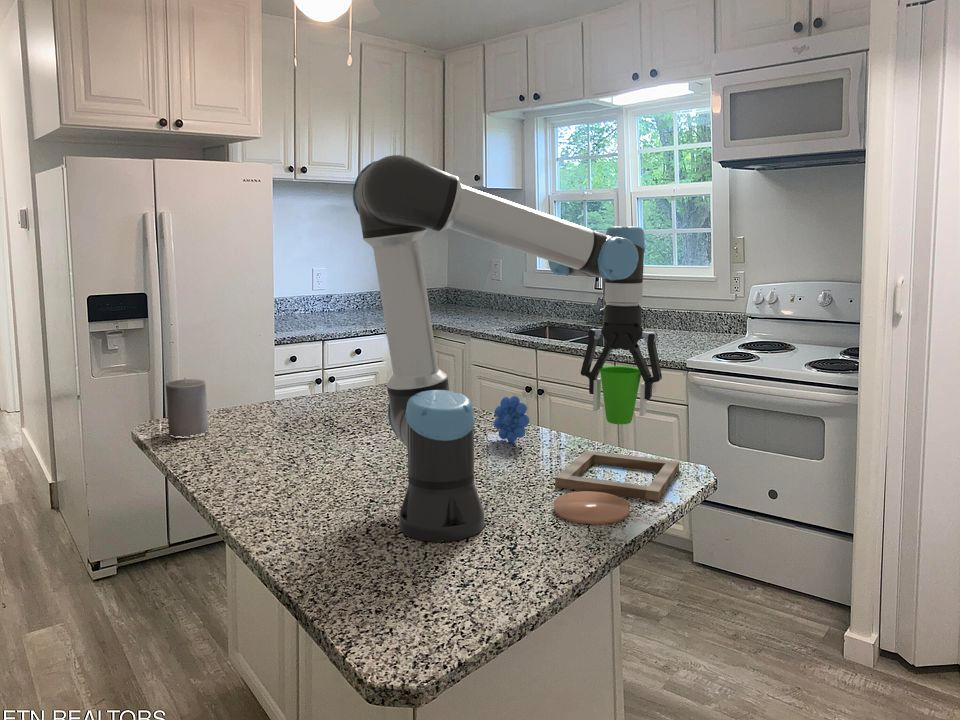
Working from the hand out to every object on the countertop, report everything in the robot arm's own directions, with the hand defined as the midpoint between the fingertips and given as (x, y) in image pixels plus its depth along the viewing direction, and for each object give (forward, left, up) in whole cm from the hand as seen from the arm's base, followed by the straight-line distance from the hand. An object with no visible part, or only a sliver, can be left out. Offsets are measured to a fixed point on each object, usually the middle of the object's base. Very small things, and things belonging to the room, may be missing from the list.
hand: (619, 412), depth 158 cm
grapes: (+17, +31, -15) cm, 38 cm away
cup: (0, 0, -2) cm, 2 cm away
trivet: (-20, 0, -14) cm, 25 cm away
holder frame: (0, 0, -14) cm, 14 cm away
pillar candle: (-10, +111, -15) cm, 112 cm away
